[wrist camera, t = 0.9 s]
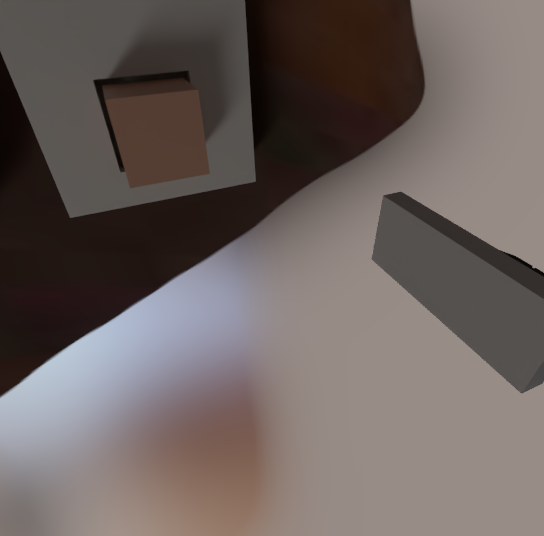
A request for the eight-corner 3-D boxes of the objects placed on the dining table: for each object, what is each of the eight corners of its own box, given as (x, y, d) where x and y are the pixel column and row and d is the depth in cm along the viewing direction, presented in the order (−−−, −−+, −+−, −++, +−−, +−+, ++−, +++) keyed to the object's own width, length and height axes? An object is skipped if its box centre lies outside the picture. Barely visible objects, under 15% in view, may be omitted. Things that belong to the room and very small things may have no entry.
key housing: (-122, -289, 15) (-173, -361, 12) (206, -237, 19) (228, -280, 16) (71, 195, 28) (70, 217, 25) (240, 165, 32) (255, 181, 29)
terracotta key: (101, 85, 22) (104, 99, 19) (182, 77, 24) (198, 89, 20) (124, 163, 25) (130, 188, 22) (194, 152, 27) (209, 173, 23)
